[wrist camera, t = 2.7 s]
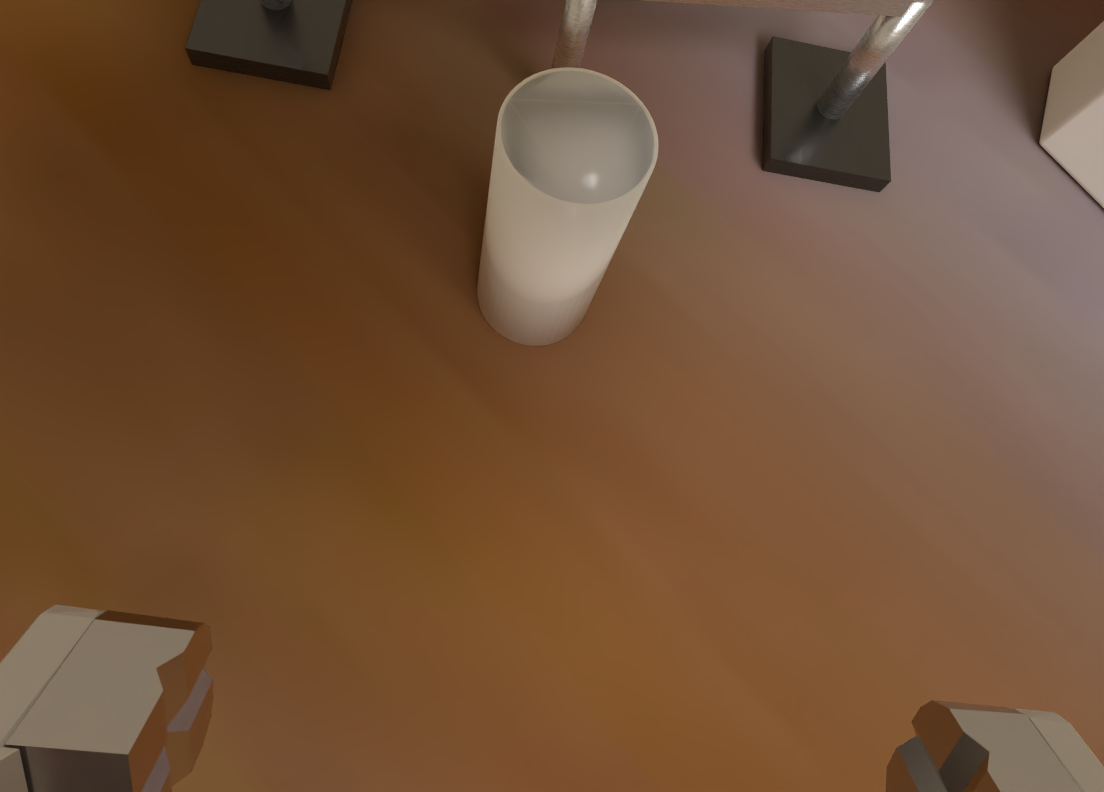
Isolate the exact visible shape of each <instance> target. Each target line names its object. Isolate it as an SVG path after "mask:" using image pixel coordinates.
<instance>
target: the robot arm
mask: <svg viewBox="0 0 1104 792" xmlns="http://www.w3.org/2000/svg"><path fill="white" fill-rule="evenodd" d="M211 650H212V645H211V633H210V626H208V625H206V624H205V623H200V622H192V621H185V620H177V619H169V618H162V617H154V616H147V615H139V614H132V613H124V612H117V611H109V610H107V611H103V610H95V609H87V608H80V607H72V606H64V605H57V604H56V605H54V606H53V607H51V608H49V609H48V610H46V611H44V612H43V613H41V614H40V615H39V616H38V617H37V618H36V619H35V621H34V622H33V623H32V624H31V626H30V627H29V628H28V629H27V630H26V632H25V633H24V634H23V635H22V637H21V638H20V639H19V640H18V641H17V643H16V644H15V645H14V646H13V648H12V649H11V650H10V651H9V652H8V654H7V655H6V656H5V657H4V659H3V660H2V661H1V662H0V792H172V790H171V787H172V786H174V785H175V784H176V783H178V782H179V781H180V780H182V779H183V778H184V777H185V776H187V775H188V774H189V773H191V772H192V769H193V767H194V765H195V762H196V760H197V758H198V755H199V753H200V750H201V748H202V746H203V742H204V739H205V735H206V732H207V728H208V724H209V721H210V717H211V710H212V702H213V679H212V678H211V677H210V676H209V675H208V673H207V672H206V671H205V670H204V669H203V666H204V664H205V662H206V660H207V658H208V656H209V654H210V652H211ZM912 725H913V728H914V730H915V733H916V736H915V737H913V738H911V739H910V740H908V741H907V742H905V743H903V744H902V745H900V746H898V747H897V748H896V750H895V752H894V754H893V756H892V758H891V760H890V762H889V764H888V766H887V776H886V792H1104V766H1103V765H1102V764H1101V763H1100V761H1099V760H1098V759H1097V757H1096V756H1095V755H1094V753H1093V752H1092V751H1091V750H1090V748H1089V747H1088V746H1087V744H1086V743H1085V742H1084V741H1083V739H1082V738H1081V737H1080V735H1079V734H1078V733H1077V732H1076V730H1075V729H1074V728H1073V726H1072V725H1071V724H1070V723H1069V722H1068V721H1066V720H1065V719H1063V718H1062V717H1061V716H1059V715H1058V714H1056V713H1055V712H1045V711H1035V710H1025V709H1015V708H1014V709H1009V708H1006V707H997V706H987V705H976V704H966V703H955V702H945V701H934V700H932V701H930V702H928V703H927V704H925V705H923V706H921V707H920V709H919V710H918V712H917V714H916V715H915V717H914V719H913V720H912Z"/></svg>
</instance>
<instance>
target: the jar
mask: <svg viewBox="0 0 1104 792" xmlns="http://www.w3.org/2000/svg"><path fill="white" fill-rule="evenodd" d="M1039 143H1040V145H1041V146H1042V147H1043V148H1044V149H1045V150H1046V151H1047V152H1048V153H1049V154H1050V155H1051V156H1052V157H1053V158H1054V159H1055V160H1056V161H1057V162H1058V163H1059V164H1060V165H1061V166H1062V167H1063V168H1064V169H1065V170H1066V171H1067V172H1068V173H1069V174H1070V175H1071V176H1072V177H1073V178H1074V179H1075V180H1076V181H1077V182H1078V183H1079V184H1080V185H1081V186H1082V187H1083V188H1084V189H1085V190H1086V191H1087V192H1088V193H1089V194H1090V195H1091V196H1092V197H1093V198H1094V199H1095V200H1096V201H1097V202H1098V203H1099V204H1100V205H1101V206H1102V207H1103V208H1104V21H1103V22H1102V23H1101V24H1100V25H1099V26H1097V27H1096V28H1095V29H1094V30H1093V31H1092V32H1091V33H1090V34H1089V35H1088V36H1087V37H1085V38H1084V39H1083V40H1082V41H1081V42H1080V43H1079V44H1078V45H1077V46H1076V47H1074V48H1073V49H1072V50H1071V51H1070V52H1069V53H1068V54H1067V55H1066V56H1065V57H1063V58H1062V59H1061V60H1060V61H1059V62H1058V63H1057V64H1056V65H1055V66H1054V67H1053V69H1052V73H1051V79H1050V84H1049V90H1048V96H1047V102H1046V107H1045V113H1044V119H1043V124H1042V130H1041V135H1040V141H1039Z"/></svg>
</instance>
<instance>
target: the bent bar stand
mask: <svg viewBox="0 0 1104 792" xmlns="http://www.w3.org/2000/svg"><path fill="white" fill-rule="evenodd" d="M642 1H658V2H674V3H690V4H706V5H722V6H738V7H754V8H770V9H786V10H802V11H818V12H834V13H850V14H866V15H878V17H877V18H876V19H875V21H874V22H873V24H872V25H871V26H870V28H869V29H868V30H867V32H866V33H865V35H864V36H863V37H862V39H861V40H860V42H859V43H858V44H857V46H856V47H855V49H854V50H853V51H852V53H850V52H845V51H840V50H836V49H831V48H826V47H821V46H816V45H811V44H807V43H802V42H797V41H792V40H787V39H782V38H778V37H772V39H771V40H770V42H769V44H768V46H767V47H766V49H765V58H764V115H763V171H768V172H774V173H779V174H784V175H790V176H795V177H800V178H806V179H811V180H817V181H822V182H827V183H833V184H838V185H843V186H849V187H854V188H860V189H865V190H870V191H876V192H880V191H881V190H882V189H883V188H884V187H885V186H886V185H887V184H888V183H889V182H890V181H891V172H890V151H889V129H888V107H887V85H886V64H885V62H886V60H887V59H888V58H889V56H890V55H891V54H892V53H893V51H894V50H895V49H896V48H897V46H898V45H899V44H900V43H901V41H902V40H903V39H904V38H905V36H906V35H907V34H908V32H909V31H910V30H911V29H912V27H913V26H914V25H915V24H916V22H917V21H918V20H919V19H920V17H921V16H922V15H923V14H924V12H925V11H926V10H927V9H928V7H929V6H930V5H931V3H932V2H933V1H934V0H642ZM351 3H352V0H201V1H200V4H199V8H198V11H197V14H196V17H195V20H194V23H193V26H192V29H191V32H190V35H189V38H188V41H187V44H186V47H185V48H186V51H187V53H188V55H189V58H190V60H191V62H192V64H194V65H199V66H205V67H210V68H216V69H221V70H226V71H232V72H237V73H242V74H248V75H253V76H259V77H264V78H269V79H275V80H280V81H285V82H291V83H296V84H301V85H307V86H312V87H318V88H323V89H328V90H331V86H332V82H333V77H334V73H335V69H336V65H337V61H338V57H339V53H340V49H341V45H342V40H343V36H344V32H345V28H346V24H347V20H348V16H349V12H350V7H351ZM596 4H597V0H566V1H565V6H564V11H563V16H562V21H561V25H560V30H559V35H558V40H557V45H556V50H555V55H554V59H553V64H552V69H554V68H569V67H572V68H580V67H581V63H582V59H583V55H584V51H585V47H586V43H587V39H588V35H589V32H590V28H591V24H592V20H593V16H594V12H595V8H596Z"/></svg>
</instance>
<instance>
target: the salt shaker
mask: <svg viewBox="0 0 1104 792" xmlns="http://www.w3.org/2000/svg"><path fill="white" fill-rule="evenodd" d="M657 156H658V136H657V131H656V127H655V124H654V122H653V119H652V117H651V115H650V113H649V111H648V110H647V109H646V107H645V106H644V104H643V103H642V102H641V101H640V99H639V98H638V97H637V96H636V95H635V94H634V93H633V92H632V91H630V90H629V89H628V88H627V87H625V86H624V85H623V84H621V83H620V82H618V81H616V80H614V79H613V78H611V77H608V76H606V75H604V74H601V73H598V72H595V71H592V70H587V69H582V68H572V67H569V68H554V69H549V70H545V71H541V72H539V73H536V74H534V75H532V76H530V77H528V78H526V79H524V80H523V81H522V82H520V83H519V84H518V85H517V86H516V87H515V88H514V89H513V90H511V92H510V93H509V94H508V96H507V97H506V98H505V100H504V102H503V104H502V106H501V109H500V112H499V115H498V120H497V127H496V135H495V144H494V152H493V160H492V169H491V177H490V185H489V193H488V202H487V210H486V218H485V227H484V235H483V243H482V252H481V260H480V268H479V276H478V285H477V298H478V303H479V307H480V310H481V312H482V314H483V316H484V318H485V319H486V321H487V322H488V323H489V325H490V326H491V327H492V328H493V329H494V330H495V331H496V332H498V333H499V334H500V335H502V336H503V337H505V338H507V339H509V340H511V341H513V342H516V343H519V344H523V345H529V346H543V345H548V344H553V343H555V342H558V341H560V340H562V339H564V338H566V337H567V336H569V335H570V334H571V333H572V332H573V331H574V330H575V329H576V328H577V327H578V326H579V325H580V323H581V321H582V320H583V318H584V316H585V313H586V311H587V309H588V307H589V305H590V303H591V301H592V299H593V297H594V294H595V292H596V290H597V288H598V286H599V284H600V282H601V280H602V277H603V275H604V273H605V271H606V269H607V267H608V265H609V263H610V261H611V258H612V256H613V254H614V252H615V250H616V248H617V246H618V244H619V241H620V239H621V237H622V235H623V233H624V231H625V229H626V227H627V225H628V222H629V220H630V218H631V216H632V214H633V212H634V210H635V208H636V205H637V203H638V201H639V199H640V197H641V195H642V193H643V191H644V189H645V186H646V184H647V182H648V180H649V178H650V176H651V174H652V172H653V169H654V167H655V164H656V160H657Z"/></svg>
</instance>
